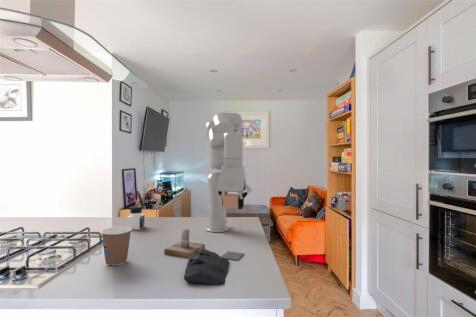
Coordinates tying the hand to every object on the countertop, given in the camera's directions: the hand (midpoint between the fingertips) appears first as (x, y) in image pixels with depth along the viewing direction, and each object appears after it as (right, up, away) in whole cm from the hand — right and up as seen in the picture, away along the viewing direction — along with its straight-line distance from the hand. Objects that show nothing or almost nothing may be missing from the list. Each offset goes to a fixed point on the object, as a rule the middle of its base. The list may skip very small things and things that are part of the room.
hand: (232, 207), depth 107 cm
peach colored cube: (0, 0, 0) cm, 0 cm away
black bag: (-9, -20, -15) cm, 26 cm away
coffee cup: (-43, -19, -7) cm, 48 cm away
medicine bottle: (-55, -20, +44) cm, 74 cm away
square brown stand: (-20, -19, +5) cm, 28 cm away
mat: (0, -19, 0) cm, 19 cm away
